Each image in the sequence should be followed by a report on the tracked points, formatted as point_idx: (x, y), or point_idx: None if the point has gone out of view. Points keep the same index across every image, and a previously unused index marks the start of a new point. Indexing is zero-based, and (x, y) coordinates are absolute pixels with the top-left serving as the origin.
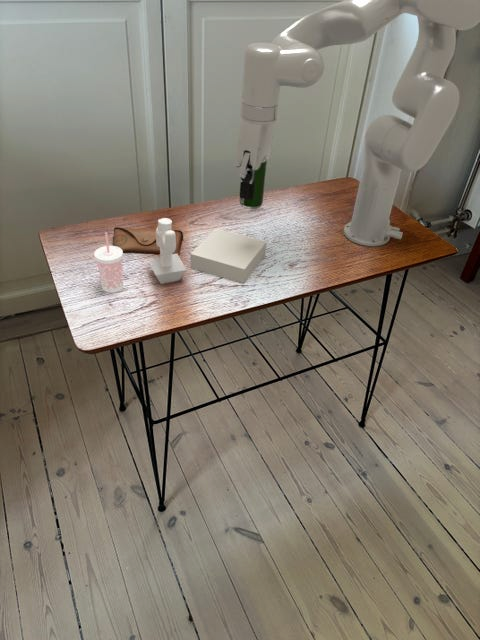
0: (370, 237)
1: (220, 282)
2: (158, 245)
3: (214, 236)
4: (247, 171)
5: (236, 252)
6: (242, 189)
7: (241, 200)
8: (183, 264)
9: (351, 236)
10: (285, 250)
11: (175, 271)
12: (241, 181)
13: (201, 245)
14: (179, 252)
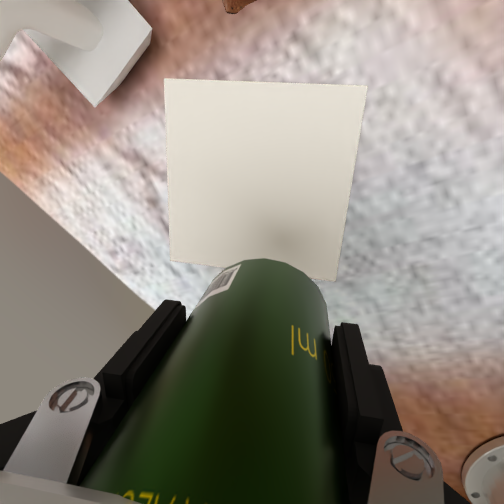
0: (486, 496)
1: (165, 193)
2: None
3: (303, 108)
4: None
5: (237, 215)
6: (117, 353)
7: (209, 287)
8: (111, 84)
9: (491, 454)
10: (377, 306)
11: (71, 79)
12: (64, 391)
13: (226, 90)
14: (245, 3)
